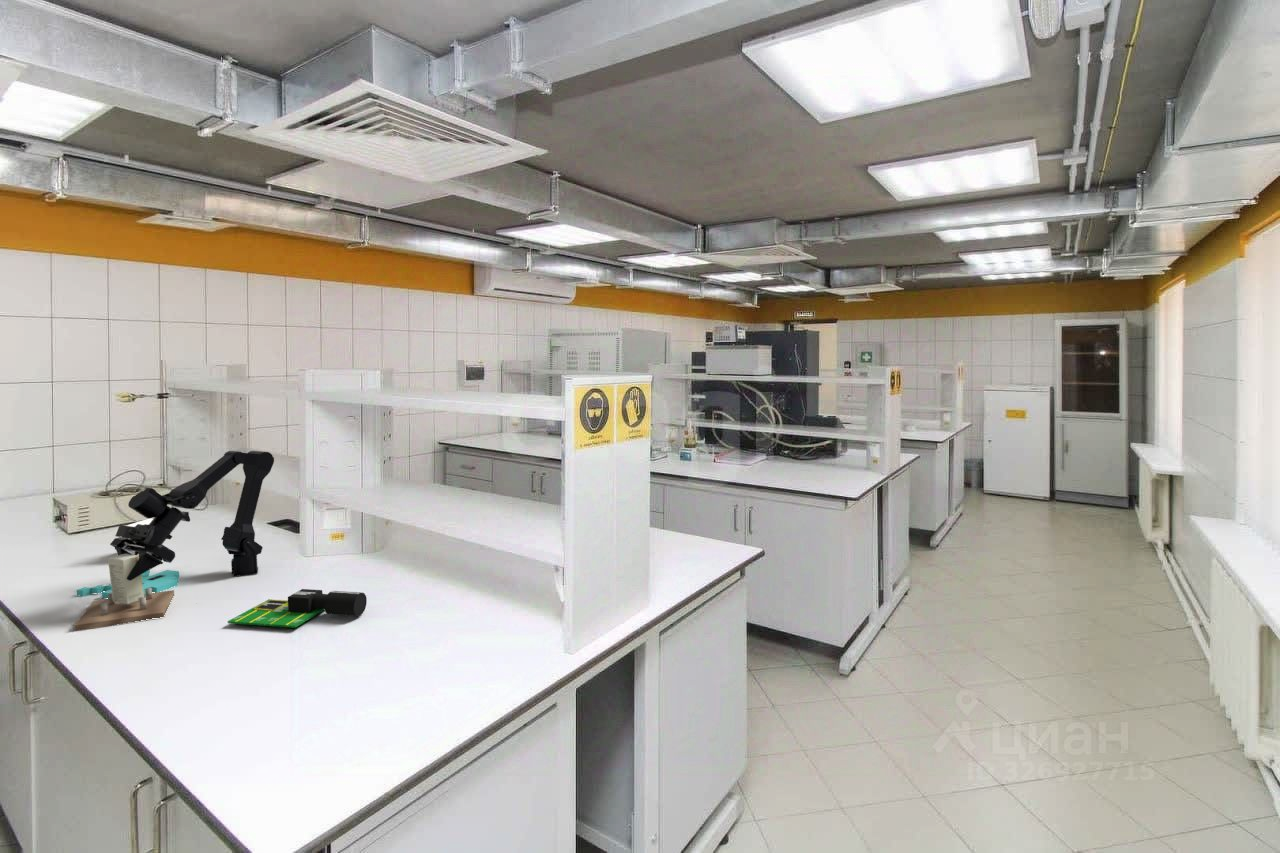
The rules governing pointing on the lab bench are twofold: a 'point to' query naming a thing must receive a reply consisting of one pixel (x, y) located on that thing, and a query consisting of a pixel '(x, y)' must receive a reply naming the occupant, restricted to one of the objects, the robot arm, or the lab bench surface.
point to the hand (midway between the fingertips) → (120, 578)
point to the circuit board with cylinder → (303, 608)
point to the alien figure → (154, 581)
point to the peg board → (124, 610)
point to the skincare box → (124, 579)
